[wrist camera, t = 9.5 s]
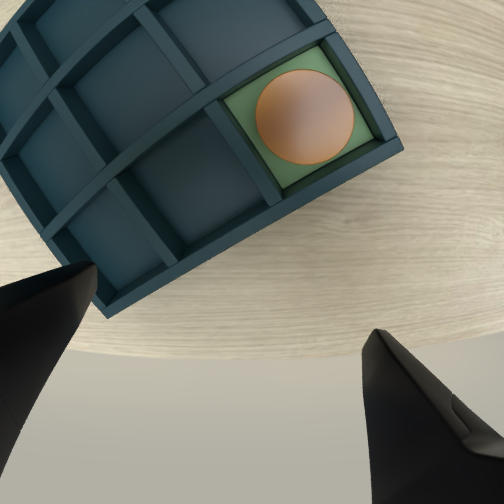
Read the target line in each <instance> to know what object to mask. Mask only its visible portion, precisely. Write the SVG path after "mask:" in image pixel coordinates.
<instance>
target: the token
mask: <svg viewBox="0 0 504 504" xmlns="http://www.w3.org/2000/svg"><path fill="white" fill-rule="evenodd" d="M255 121H256V127H257V131H258V133H259V135H260V137H261V139H262V141H263V143H264V144H265V145H266V147H267V148H268V149H269V150H270V151H271V152H272V153H274V154H275V155H276V156H278V157H279V158H281V159H283V160H285V161H287V162H290V163H293V164H298V165H315V164H320V163H323V162H326V161H328V160H330V159H332V158H333V157H335V156H336V155H337V154H339V153H340V152H341V151H342V150H343V149H344V147H345V146H346V145H347V143H348V142H349V140H350V138H351V135H352V132H353V129H354V121H355V116H354V109H353V105H352V102H351V99H350V97H349V95H348V94H347V92H346V91H345V89H344V88H343V87H342V86H341V85H340V84H339V83H338V82H337V81H336V80H335V79H333V78H332V77H330V76H328V75H326V74H324V73H322V72H319V71H315V70H311V69H296V70H291V71H288V72H285V73H283V74H280V75H278V76H277V77H275V78H274V79H273V80H271V81H270V82H269V83H268V84H267V85H266V87H265V88H264V89H263V91H262V92H261V94H260V96H259V98H258V101H257V104H256V110H255Z"/></svg>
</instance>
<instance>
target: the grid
mask: <svg viewBox="0 0 504 504" xmlns="http://www.w3.org/2000/svg"><path fill="white" fill-rule="evenodd" d="M296 69H311V70H315V71H319V72H322V73H324V74H326V75H328V76H330V77H332V78H333V79H335V80H336V81H337V82H338V83H339V84H340V85H341V86H342V87H343V88H344V89H345V91H346V92H347V94H348V95H349V97H350V99H351V102H352V105H353V109H354V116H355V121H354V129H353V132H352V135H351V138H350V140H349V142H348V143H347V145H346V146H345V147H344V149H343V150H342V151H341V152H340V153H339V154H337V155H336V156H335V157H333V158H332V159H330V160H328V161H326V162H323V163H320V164H315V165H298V164H293V163H290V162H287V161H285V160H283V159H281V158H279V157H278V156H276V155H275V154H274V153H272V152H271V151H270V150H269V149H268V148H267V147H266V145H265V144H264V143H263V141H262V139H261V137H260V135H259V133H258V131H257V127H256V121H255V110H256V104H257V101H258V98H259V96H260V94H261V92H262V91H263V89H264V88H265V87H266V85H267V84H268V83H269V82H270V81H271V80H273V79H274V78H275V77H277V76H278V75H280V74H283V73H285V72H288V71H291V70H296ZM403 150H404V147H403V145H402V143H401V141H400V139H399V137H398V136H397V133H396V131H395V129H394V127H393V125H392V123H391V121H390V119H389V117H388V115H387V113H386V111H385V109H384V107H383V105H382V104H381V102H380V100H379V98H378V96H377V94H376V93H375V91H374V89H373V87H372V86H371V84H370V82H369V80H368V79H367V77H366V75H365V74H364V72H363V70H362V69H361V67H360V65H359V64H358V62H357V61H356V59H355V57H354V56H353V54H352V53H351V51H350V50H349V48H348V47H347V45H346V44H345V42H344V41H343V39H342V38H341V36H340V35H339V33H338V32H336V29H335V28H334V26H333V25H332V23H331V22H330V21H329V19H327V16H326V15H325V14H324V12H323V11H322V10H321V8H320V7H319V6H318V4H317V3H316V2H315V0H26V1H25V2H24V3H23V4H22V6H21V7H20V8H19V9H18V10H17V12H16V13H15V14H14V15H13V17H12V18H11V19H10V21H9V22H8V23H7V24H6V26H5V27H4V28H3V30H2V31H1V32H0V175H1V176H2V178H3V180H4V182H5V183H6V185H7V187H8V188H9V190H10V191H11V193H12V195H13V196H14V198H15V199H16V201H17V203H18V204H19V206H20V207H21V209H22V210H23V212H24V213H25V215H26V216H27V218H28V219H29V221H30V222H31V224H32V225H33V226H34V228H35V229H36V231H37V232H38V234H40V236H41V238H42V239H43V241H44V242H45V243H46V245H47V246H48V248H49V249H50V250H51V252H52V253H53V254H54V256H55V257H56V258H57V260H58V261H59V262H60V264H61V265H62V266H65V265H69V264H72V263H75V262H78V261H81V260H88V261H92V262H95V263H96V265H97V290H96V292H95V294H94V296H93V298H92V300H91V301H92V302H93V304H94V305H95V306H96V307H97V308H98V309H99V310H100V311H101V312H102V314H103V315H104V316H105V317H106V318H107V319H109V318H110V317H112V316H114V315H115V314H117V313H119V312H120V311H122V310H124V309H126V308H127V307H129V306H131V305H132V304H134V303H136V302H137V301H139V300H141V299H142V298H144V297H146V296H147V295H149V294H151V293H153V292H154V291H156V290H158V289H159V288H161V287H163V286H164V285H166V284H168V283H170V282H171V281H173V280H175V279H176V278H178V277H180V276H182V275H183V274H185V273H187V272H188V271H190V270H192V269H194V268H195V267H197V266H199V265H200V264H202V263H204V262H206V261H207V260H209V259H211V258H212V257H214V256H216V255H218V254H219V253H221V252H223V251H225V250H226V249H228V248H230V247H232V246H233V245H235V244H237V243H239V242H240V241H242V240H244V239H245V238H247V237H249V236H251V235H252V234H254V233H256V232H258V231H259V230H261V229H263V228H265V227H266V226H268V225H270V224H272V223H274V222H275V221H277V220H279V219H281V218H282V217H284V216H286V215H288V214H289V213H291V212H293V211H295V210H296V209H298V208H300V207H302V206H304V205H305V204H307V203H309V202H311V201H312V200H314V199H316V198H318V197H320V196H321V195H323V194H325V193H327V192H328V191H330V190H332V189H334V188H336V187H337V186H339V185H341V184H343V183H345V182H346V181H348V180H350V179H352V178H354V177H355V176H357V175H359V174H361V173H363V172H364V171H366V170H368V169H370V168H372V167H374V166H375V165H377V164H379V163H381V162H383V161H384V160H386V159H388V158H390V157H392V156H394V155H395V154H397V153H399V152H401V151H403Z"/></svg>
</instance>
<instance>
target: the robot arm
mask: <svg viewBox="0 0 504 504" xmlns="http://www.w3.org/2000/svg"><path fill="white" fill-rule="evenodd" d="M96 290H97V265H96V263H95V262H92V261H88V260H81V261H78V262H75V263H72V264H69V265H65V266H62V267H59V268H56V269H53V270H50V271H47V272H43V273H40V274H37V275H34V276H31V277H28V278H25V279H22V280H19V281H16V282H13V283H10V284H7V285H4V286H1V287H0V477H1V474H2V472H3V469H4V467H5V465H6V463H7V460H8V458H9V456H10V453H11V451H12V449H13V447H14V445H15V442H16V440H17V438H18V436H19V434H20V430H21V429H22V427H23V425H24V423H25V421H26V419H27V417H28V415H29V413H30V411H31V409H32V407H33V405H34V403H35V401H36V400H37V398H38V396H39V394H40V392H41V390H42V388H43V387H44V385H45V383H46V381H47V379H48V377H49V376H50V374H51V372H52V370H53V368H54V367H55V365H56V364H57V362H58V360H59V358H60V357H61V355H62V353H63V352H64V350H65V348H66V347H67V345H68V343H69V342H70V340H71V338H72V337H73V335H74V333H75V332H76V330H77V328H78V327H79V325H80V323H81V321H82V319H83V317H84V315H85V312H86V310H87V308H88V306H89V304H90V302H91V300H92V298H93V296H94V294H95V292H96ZM362 380H363V381H362V382H363V398H364V407H365V416H366V425H367V436H368V447H369V459H370V472H371V489H372V504H504V438H503V437H502V436H500V435H499V434H498V433H497V432H496V431H494V429H492V428H491V427H490V426H489V425H488V424H487V423H485V422H484V421H483V420H482V419H481V418H479V417H478V416H477V415H476V414H475V413H474V412H472V411H471V410H470V409H469V408H468V407H467V406H466V405H465V404H464V403H463V402H461V400H459V398H458V397H457V396H455V395H454V394H452V392H451V391H450V390H449V389H448V388H447V387H446V386H445V385H444V384H443V383H442V382H441V381H440V380H439V379H438V378H437V377H436V376H434V375H433V374H432V373H431V372H430V371H429V370H428V369H427V368H426V367H425V366H424V365H423V364H422V363H421V362H420V361H419V360H417V359H416V358H415V357H414V356H413V355H412V354H411V353H410V352H409V351H408V350H407V349H406V348H405V347H404V346H402V345H401V344H400V343H399V342H398V341H397V340H396V339H395V338H394V337H393V336H392V335H391V334H389V333H388V332H387V331H386V330H381V329H374V330H373V331H372V332H371V334H370V336H369V338H368V340H367V341H366V343H365V345H364V347H363V349H362Z"/></svg>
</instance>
